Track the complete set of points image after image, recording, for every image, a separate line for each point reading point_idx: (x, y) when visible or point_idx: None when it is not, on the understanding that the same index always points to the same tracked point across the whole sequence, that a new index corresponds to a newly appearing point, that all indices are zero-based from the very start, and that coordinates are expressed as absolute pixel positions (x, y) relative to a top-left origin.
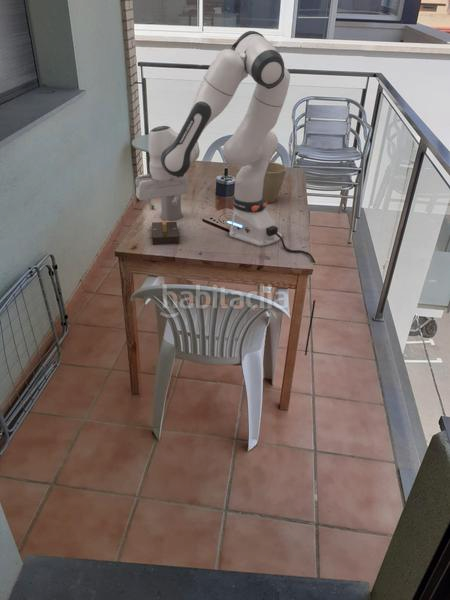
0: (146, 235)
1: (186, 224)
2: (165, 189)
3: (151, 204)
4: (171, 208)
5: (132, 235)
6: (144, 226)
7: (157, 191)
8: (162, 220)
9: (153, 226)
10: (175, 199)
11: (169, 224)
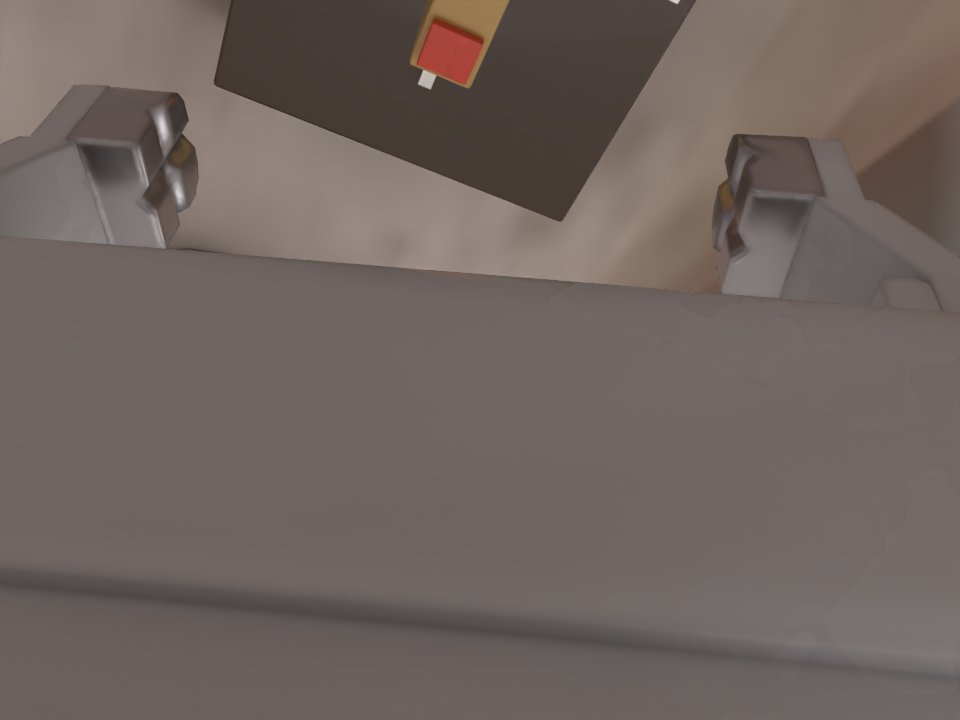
0: (735, 33)
1: (80, 76)
2: (281, 489)
3: (769, 271)
4: None
5: (891, 125)
6: (609, 266)
7: (704, 495)
8: (491, 40)
9: (609, 98)
10: (49, 211)
11: (350, 42)
